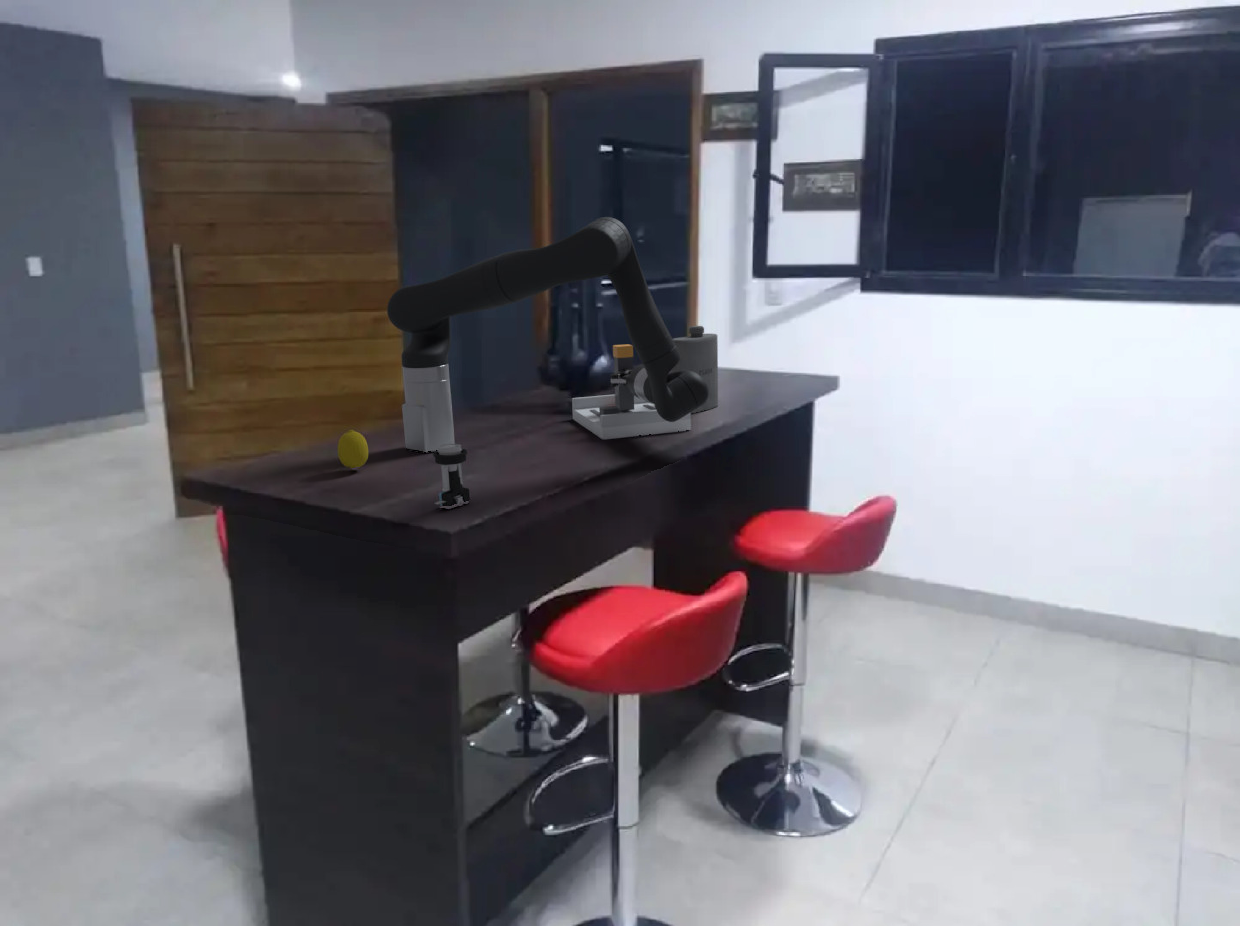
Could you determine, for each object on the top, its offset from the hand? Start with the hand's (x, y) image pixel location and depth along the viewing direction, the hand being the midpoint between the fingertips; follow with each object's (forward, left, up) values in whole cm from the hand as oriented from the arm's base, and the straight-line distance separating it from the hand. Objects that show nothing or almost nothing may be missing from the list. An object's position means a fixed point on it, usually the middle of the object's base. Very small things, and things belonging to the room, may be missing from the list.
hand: (625, 373), depth 203 cm
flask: (+21, -5, -12) cm, 25 cm away
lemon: (-60, +20, -12) cm, 64 cm away
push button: (-67, -14, -12) cm, 69 cm away
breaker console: (-1, -1, -12) cm, 12 cm away
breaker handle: (+1, +1, -9) cm, 9 cm away
